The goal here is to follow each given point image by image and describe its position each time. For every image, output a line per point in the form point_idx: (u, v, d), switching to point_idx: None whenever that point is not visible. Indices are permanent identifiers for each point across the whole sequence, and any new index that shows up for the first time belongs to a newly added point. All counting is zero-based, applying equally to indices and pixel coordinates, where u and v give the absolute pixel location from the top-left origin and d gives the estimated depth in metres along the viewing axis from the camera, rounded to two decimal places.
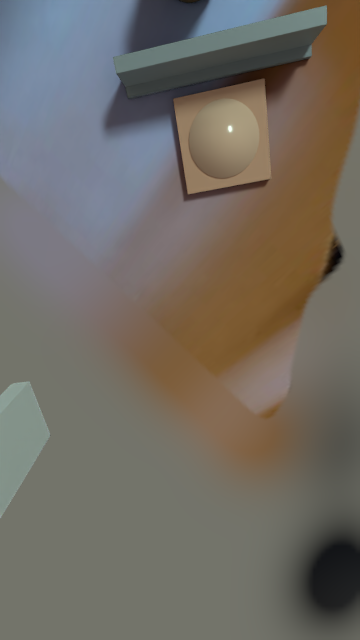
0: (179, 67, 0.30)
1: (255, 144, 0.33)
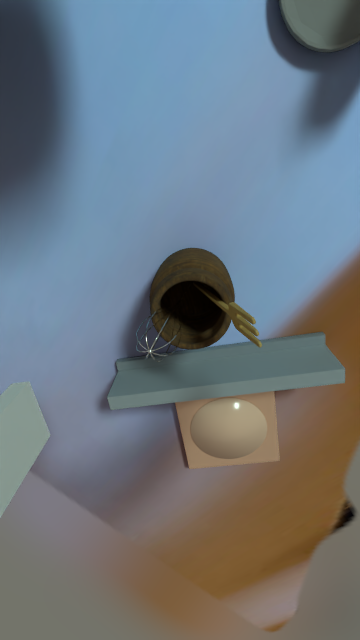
0: None
1: (263, 433, 0.31)
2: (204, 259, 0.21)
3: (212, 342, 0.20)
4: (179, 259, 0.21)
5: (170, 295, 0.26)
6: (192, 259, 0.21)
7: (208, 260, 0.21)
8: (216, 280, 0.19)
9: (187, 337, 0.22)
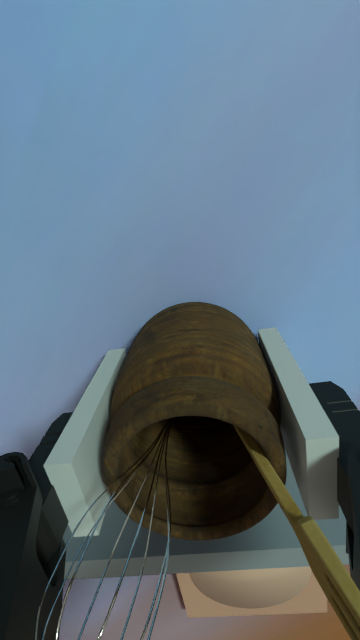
0: None
1: (303, 578, 0.19)
2: (220, 344, 0.10)
3: (239, 531, 0.09)
4: (168, 343, 0.10)
5: None
6: (195, 346, 0.10)
7: (229, 345, 0.10)
8: (252, 414, 0.08)
9: (185, 499, 0.11)
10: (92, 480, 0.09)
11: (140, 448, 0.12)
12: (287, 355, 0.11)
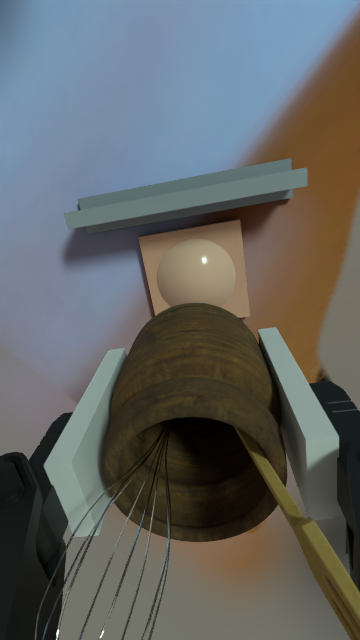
0: None
1: (231, 283, 0.30)
2: (221, 345, 0.10)
3: (239, 532, 0.09)
4: (169, 344, 0.10)
5: None
6: (195, 347, 0.10)
7: (229, 346, 0.10)
8: (253, 415, 0.08)
9: (185, 500, 0.11)
10: (92, 480, 0.09)
11: (140, 449, 0.12)
12: (287, 355, 0.11)
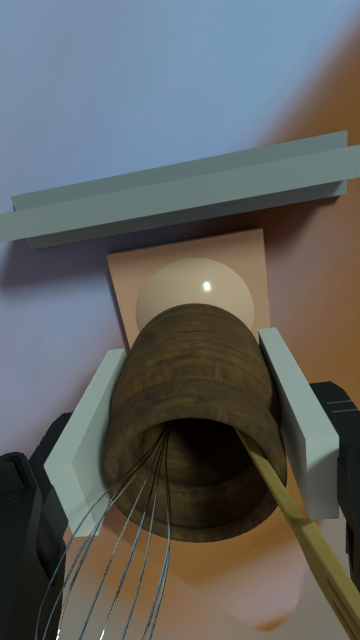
0: None
1: (248, 322, 0.20)
2: (221, 346, 0.10)
3: (239, 533, 0.09)
4: (169, 345, 0.10)
5: None
6: (196, 347, 0.10)
7: (229, 347, 0.10)
8: (253, 416, 0.08)
9: (185, 500, 0.11)
10: (92, 480, 0.09)
11: (140, 449, 0.12)
12: (287, 355, 0.11)
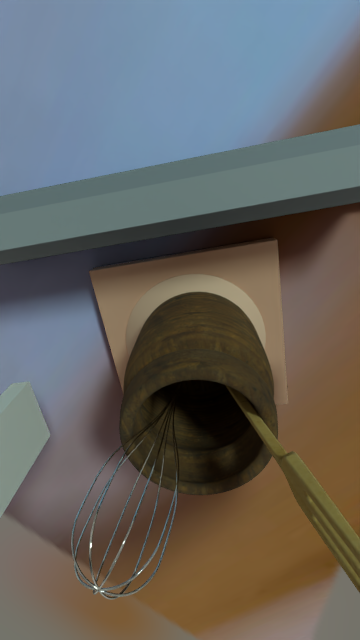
0: None
1: None
2: (220, 324, 0.12)
3: (237, 485, 0.11)
4: (175, 323, 0.12)
5: None
6: (198, 325, 0.11)
7: (227, 325, 0.12)
8: (248, 378, 0.09)
9: (190, 462, 0.12)
10: None
11: (149, 421, 0.14)
12: None
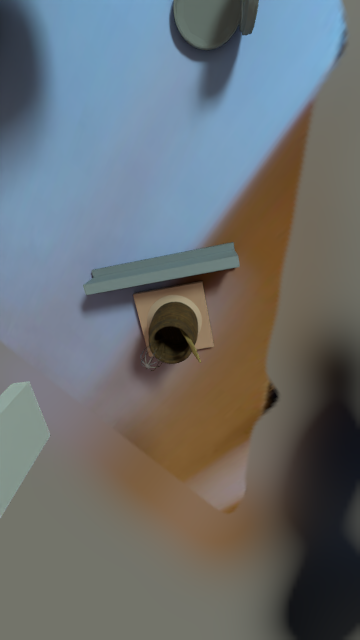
0: None
1: (199, 324, 0.42)
2: (178, 312, 0.37)
3: (183, 359, 0.36)
4: (164, 312, 0.37)
5: (162, 329, 0.42)
6: (171, 312, 0.37)
7: (181, 312, 0.37)
8: (183, 325, 0.35)
9: (170, 356, 0.37)
10: None
11: (157, 347, 0.39)
12: None
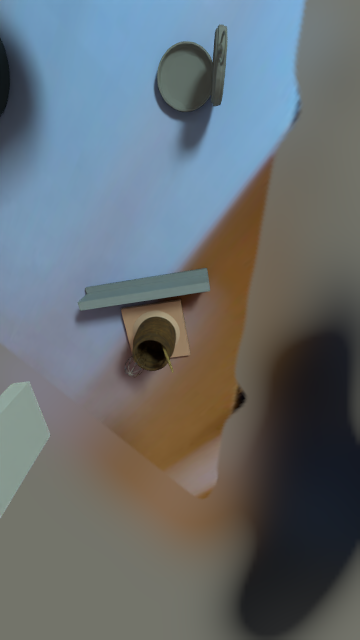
0: None
1: (177, 335, 0.49)
2: (158, 327, 0.44)
3: (161, 367, 0.43)
4: (146, 327, 0.44)
5: None
6: (152, 327, 0.44)
7: (160, 327, 0.44)
8: (161, 340, 0.42)
9: (151, 364, 0.44)
10: None
11: (140, 355, 0.46)
12: None
